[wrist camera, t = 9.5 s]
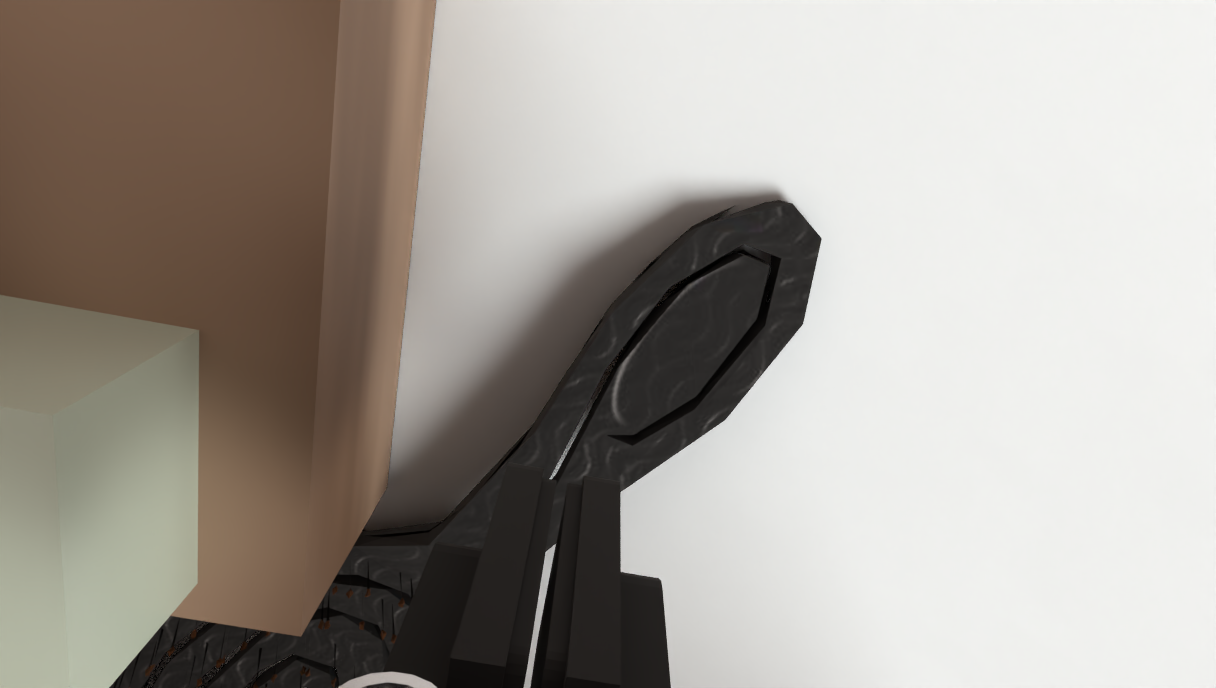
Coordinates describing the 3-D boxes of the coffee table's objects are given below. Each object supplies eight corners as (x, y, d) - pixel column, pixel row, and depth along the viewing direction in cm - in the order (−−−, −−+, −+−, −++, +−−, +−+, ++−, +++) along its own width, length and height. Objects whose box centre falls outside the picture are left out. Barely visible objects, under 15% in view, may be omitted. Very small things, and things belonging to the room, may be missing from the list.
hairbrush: (983, 388, 14) (189, 1065, 19) (904, 334, 17) (253, 915, 22) (671, 55, 12) (-115, 896, 17) (654, 69, 16) (7, 763, 21)
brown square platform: (441, -56, 14) (348, -130, 9) (387, 487, 17) (300, 636, 13) (-234, -193, 13) (-709, -348, 8) (-143, 398, 17) (-437, 518, 12)
